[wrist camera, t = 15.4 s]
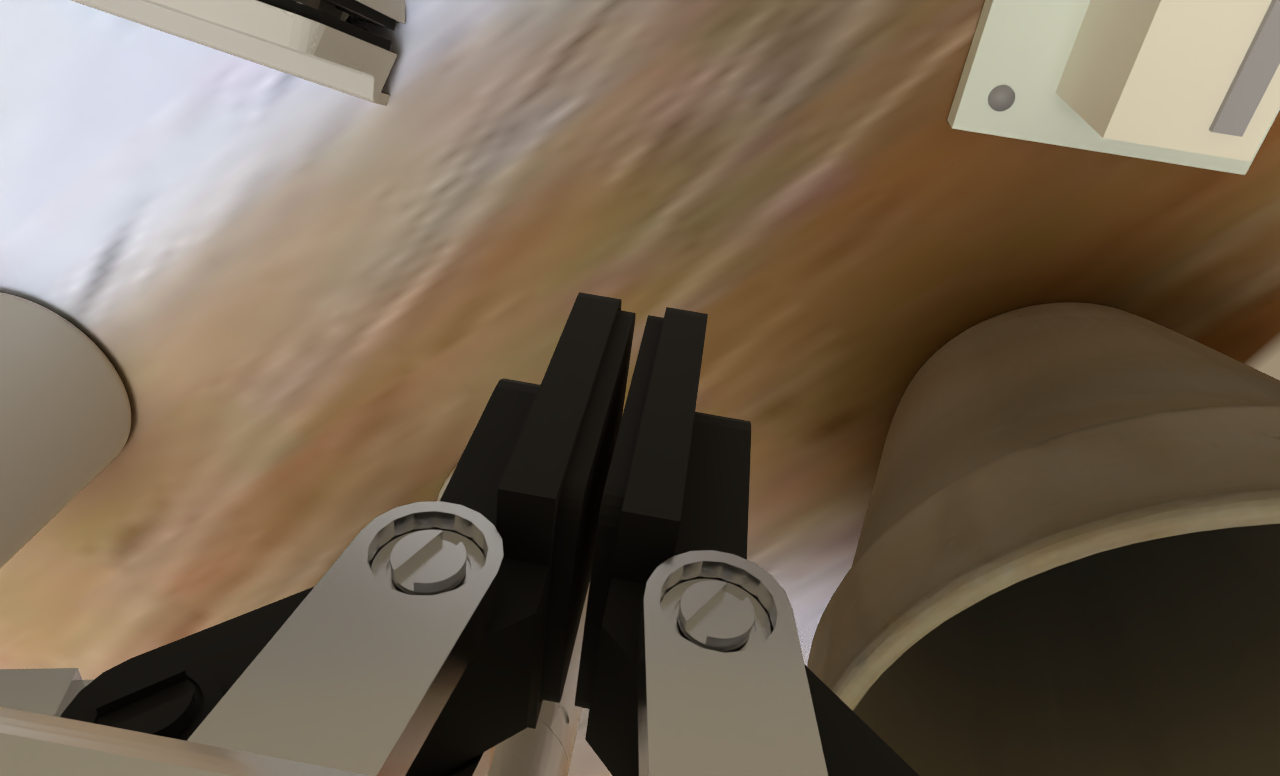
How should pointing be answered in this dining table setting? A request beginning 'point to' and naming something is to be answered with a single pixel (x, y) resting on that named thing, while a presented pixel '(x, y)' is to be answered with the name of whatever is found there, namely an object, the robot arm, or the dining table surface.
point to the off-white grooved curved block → (283, 35)
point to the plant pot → (1070, 558)
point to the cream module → (1178, 73)
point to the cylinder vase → (51, 417)
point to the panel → (1042, 84)
